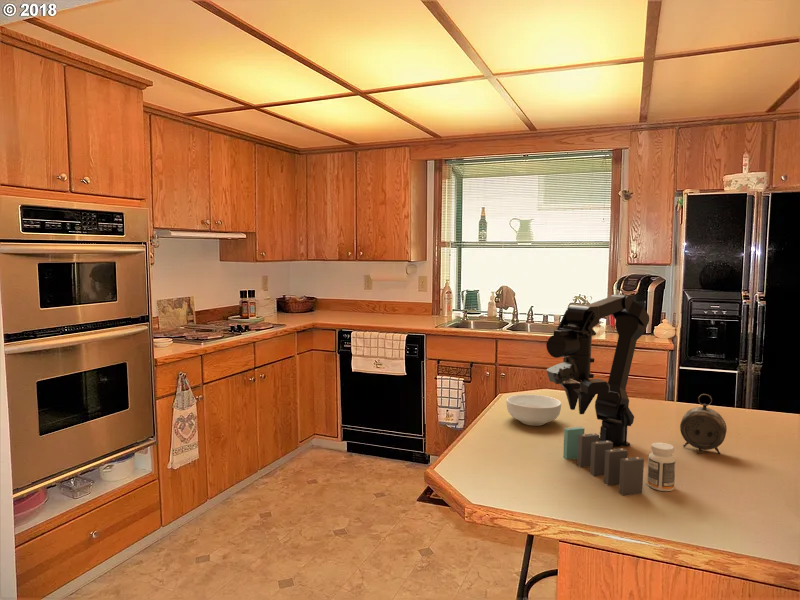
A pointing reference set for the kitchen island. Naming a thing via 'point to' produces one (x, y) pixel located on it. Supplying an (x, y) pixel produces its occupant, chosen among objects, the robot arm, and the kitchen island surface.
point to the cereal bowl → (533, 408)
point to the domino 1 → (571, 442)
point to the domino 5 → (631, 476)
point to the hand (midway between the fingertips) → (576, 411)
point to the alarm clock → (703, 428)
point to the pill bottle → (661, 467)
